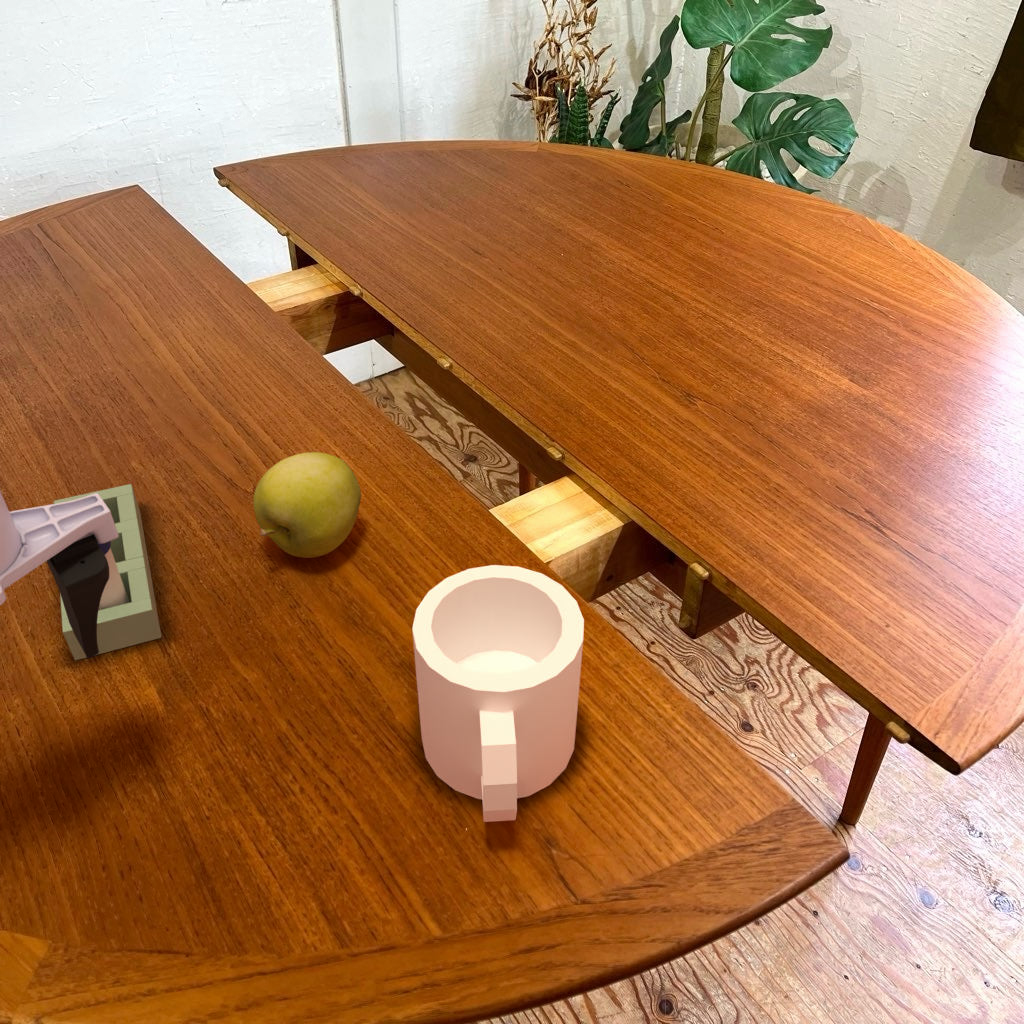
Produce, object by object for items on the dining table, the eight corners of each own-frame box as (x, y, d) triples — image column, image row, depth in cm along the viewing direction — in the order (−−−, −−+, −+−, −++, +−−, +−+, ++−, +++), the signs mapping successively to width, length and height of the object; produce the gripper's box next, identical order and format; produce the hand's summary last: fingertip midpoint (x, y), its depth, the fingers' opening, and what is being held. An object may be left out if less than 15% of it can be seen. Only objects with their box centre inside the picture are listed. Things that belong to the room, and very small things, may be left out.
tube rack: (161, 637, 70) (152, 609, 68) (74, 661, 68) (62, 632, 66) (140, 511, 81) (131, 483, 79) (64, 528, 79) (53, 500, 77)
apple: (238, 563, 76) (219, 484, 71) (305, 498, 82) (293, 421, 77) (320, 594, 74) (306, 515, 68) (383, 524, 80) (375, 447, 75)
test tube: (103, 640, 70) (70, 556, 64) (89, 617, 72) (56, 533, 66) (142, 623, 71) (112, 538, 66) (127, 600, 73) (98, 516, 67)
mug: (592, 844, 58) (604, 736, 51) (422, 855, 57) (411, 747, 50) (565, 670, 68) (573, 561, 61) (421, 678, 67) (412, 568, 60)
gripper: (-242, 603, 39) (-107, 793, 48) (108, 473, 46) (171, 660, 55) (-263, 514, 44) (-135, 703, 52) (61, 406, 50) (126, 590, 59)
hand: (19, 676), depth 54 cm, fingers open, 7 cm apart
